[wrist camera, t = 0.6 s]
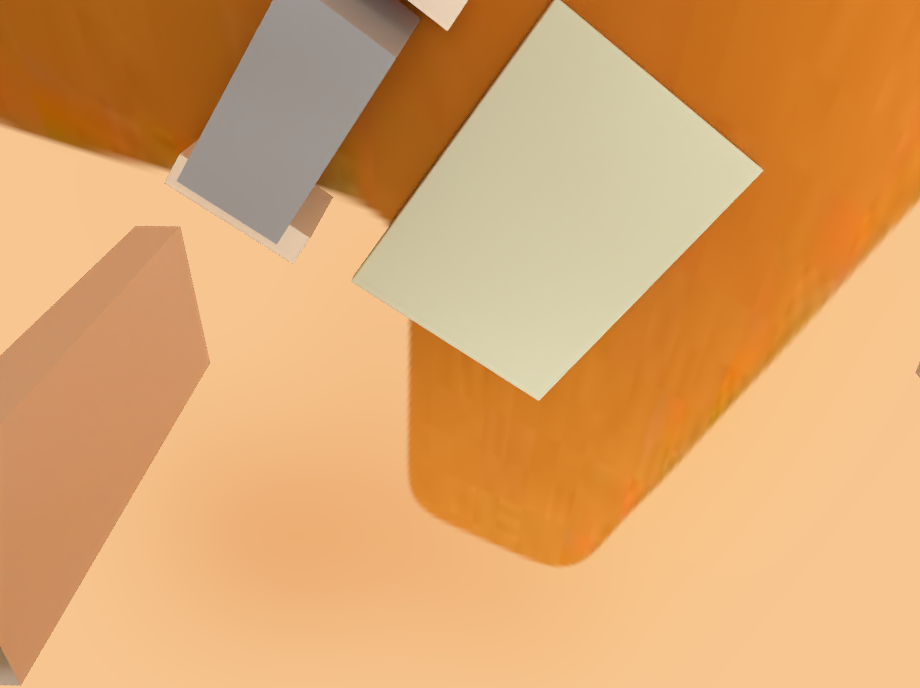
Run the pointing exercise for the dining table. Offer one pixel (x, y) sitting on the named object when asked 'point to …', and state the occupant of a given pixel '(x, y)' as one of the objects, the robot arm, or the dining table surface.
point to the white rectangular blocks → (441, 6)
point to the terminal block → (293, 105)
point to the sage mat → (554, 206)
